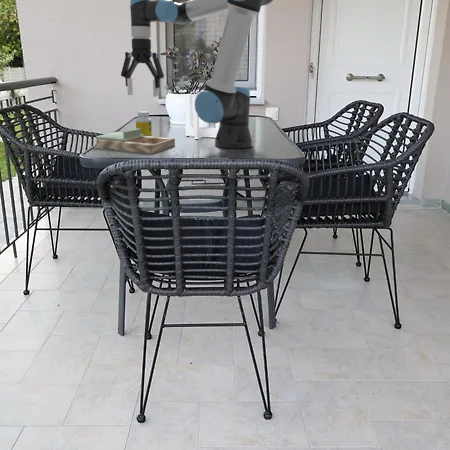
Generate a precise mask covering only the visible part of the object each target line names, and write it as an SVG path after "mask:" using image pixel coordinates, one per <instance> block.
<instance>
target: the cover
mask: <svg viewBox="0 0 450 450" xmlns="http://www.w3.org/2000/svg"><path fill="white" fill-rule="evenodd" d="M139 137H143V134H141V129H139V128H136V127H135V128H131V129H129V130H124V131H123V132H121V131H114V132H110V133H105V134H101V135H97V136H95V139H96V140H98V139H105V140H115V141H128V140H132V139H135V138H139Z"/></svg>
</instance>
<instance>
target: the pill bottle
mask: <svg viewBox="0 0 450 450" xmlns="http://www.w3.org/2000/svg"><path fill="white" fill-rule="evenodd" d="M149 116H150V112H149V111H147V110H146V111H144V110H143V111H137V118H135V129H136V128H139V129H141V134H143V136H152V137H153V133H152V132H153V131H152V118H150V117H149Z"/></svg>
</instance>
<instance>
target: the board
mask: <svg viewBox="0 0 450 450" xmlns="http://www.w3.org/2000/svg"><path fill="white" fill-rule="evenodd" d="M95 141H96V148H97V149H103V148H106V149H105V150H112V149H114V151H121V152H130V153H131V152H133V153H142V154H150V155H151V154H152V155H153V154H156V153H159V152H162V151H165V150H168V149H171V148H174V147H175V146H176V138H173V137H172V138H171V137H164V136H163V137H160V136H153V135H152V136H143V137H139V138H135V139H132V140H128V141H115V140H105V139H96V140H95Z"/></svg>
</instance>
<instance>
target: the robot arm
mask: <svg viewBox="0 0 450 450" xmlns="http://www.w3.org/2000/svg"><path fill="white" fill-rule="evenodd" d="M272 2H274V0H187V1H183V2H179V3H178V2H174V1H173V0H130V5H129V7H130V30H131V33H130V34H131V35H130V36H131V38H132V39H131V48H132V49H131V51H126V52H124V54H125V57H124V62H123V66H122V69H121V73H120V76H121V77H123V78H125V87H126V88H127V89H126V90H127V96H133V95H134V93H133V78H132V75H133V73H134V72H135V70H136V68H137V66H138V65H139V64H145V65H146V66H147V68H148V70H149V71H150V74H151V75H152V77H153V79H152V93H153V95H152V97H153V98H154V97H159V89H160V87H161V86H160V85H161V84H160V83H161V79H164V78H165V75H164V71H163V68H162V66H161V62H160V59H159V53H158V52H152V40H151V39H150V38H151V36H152V34H151V33H152V31H151V24H152V23H159V22H160V23H168V24H177V25H182V26H186V25H192V24H193V23H194V22H195V21H198V20H202V19H205V18H211V17H213V16H218V15H221V14H224V13H228V14H227V17H226V19H225V20H226V21H225V24H224V29H223V33H222V35H221V36H222V37H221V39H220V43H219V44H220V45H219V47H218V51H217V55H216V58H215V62H214V67H213V70H212V74H211V78H210V79H208V80H207V81H205V84H204V88H203V90H202V91H201V92H200V93H198V94H197V95H196V97H195V100H194V108H195V109H194V110H195V112H196V114H197V117H199V118H200V120H201V121H202V122H205V123H207V124H218V123H219V127H218V130H217V133H216V136H215V139H214V146H215V147H218V148H223V149H247V147H249V148H251V147H250V146H252V147H253V139H252V135H251V132H250V128H249V124H250V123H249V122H250V104H251V92H250V89H249V88H247V87H243V86H236V85H235V82H236V79H237V74H238V71H239V69H240V68H239V67H240V65H241V62H242V59H243V58H242V57H243V54H244V51H245V47H246V44H247V40H248V37H249V34H250V29H251V26H252V23H253V20H254V17H256V16H257V15H259V14H260V11H261V9H262V7H264V6H267V5H269V4H271V3H272ZM132 57H133V59H132ZM151 58H152V60H153V62H152V60H151ZM154 66H155V67H154Z"/></svg>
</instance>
